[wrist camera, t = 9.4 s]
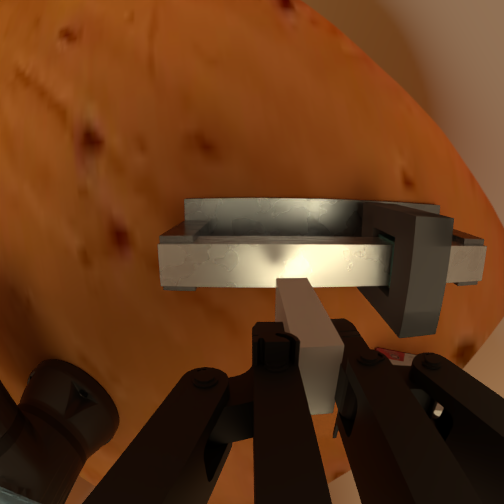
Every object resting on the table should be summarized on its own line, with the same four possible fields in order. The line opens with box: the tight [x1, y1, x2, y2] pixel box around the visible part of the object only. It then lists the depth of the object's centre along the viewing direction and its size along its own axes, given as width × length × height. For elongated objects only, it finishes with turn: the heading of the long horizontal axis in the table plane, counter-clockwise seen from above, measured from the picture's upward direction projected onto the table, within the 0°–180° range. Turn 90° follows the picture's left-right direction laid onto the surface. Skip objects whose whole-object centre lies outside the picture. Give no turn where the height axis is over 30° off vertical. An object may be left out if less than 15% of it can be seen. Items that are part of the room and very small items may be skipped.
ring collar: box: [357, 202, 454, 338], centre depth 22 cm, size 3×8×10 cm, turn 0°
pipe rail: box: [158, 198, 487, 291], centre depth 25 cm, size 26×8×10 cm, turn 90°
